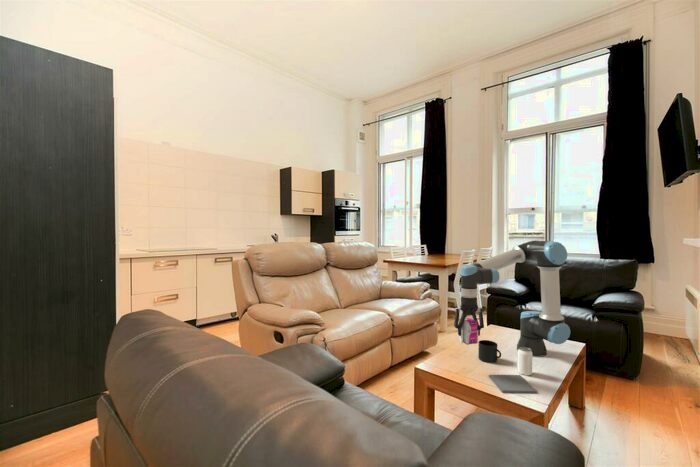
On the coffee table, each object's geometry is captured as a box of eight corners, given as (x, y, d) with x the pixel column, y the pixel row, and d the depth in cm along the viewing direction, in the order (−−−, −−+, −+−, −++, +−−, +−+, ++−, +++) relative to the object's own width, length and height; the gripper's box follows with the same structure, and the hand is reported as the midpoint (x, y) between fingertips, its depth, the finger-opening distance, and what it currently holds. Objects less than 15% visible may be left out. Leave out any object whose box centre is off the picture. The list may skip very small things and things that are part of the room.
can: (527, 369, 164) (527, 346, 164) (535, 375, 158) (535, 351, 157) (514, 370, 164) (515, 346, 164) (522, 376, 158) (522, 351, 157)
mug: (496, 366, 169) (496, 349, 168) (475, 358, 178) (475, 342, 178) (505, 361, 175) (505, 344, 174) (483, 354, 184) (484, 338, 184)
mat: (520, 377, 156) (520, 375, 156) (537, 393, 141) (537, 390, 141) (488, 376, 157) (488, 374, 157) (502, 392, 142) (502, 390, 142)
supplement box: (467, 345, 160) (467, 322, 159) (460, 340, 165) (460, 318, 165) (477, 343, 161) (477, 320, 161) (470, 339, 167) (470, 317, 167)
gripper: (451, 298, 159) (451, 344, 160) (492, 298, 159) (491, 344, 159) (447, 294, 167) (447, 339, 167) (486, 294, 166) (485, 339, 167)
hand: (468, 341), depth 163 cm, fingers closed on supplement box, 7 cm apart
